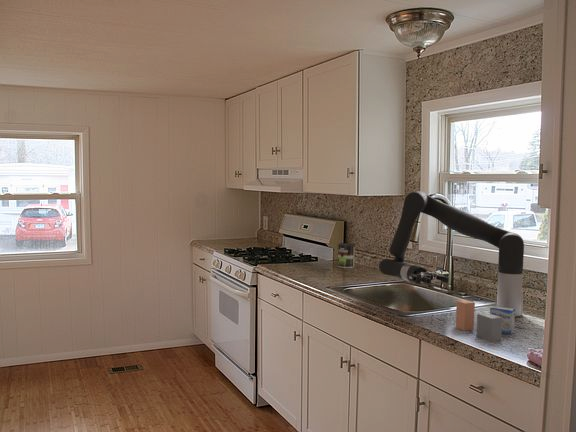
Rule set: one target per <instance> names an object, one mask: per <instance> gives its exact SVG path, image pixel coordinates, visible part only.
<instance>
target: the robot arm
mask: <svg viewBox="0 0 576 432" xmlns="http://www.w3.org/2000/svg"><path fill="white" fill-rule="evenodd" d="M420 213H422V214H426V215H428V216H429V217H432V218H434V219H436V220H437V221H439V222H440V223H442V224H443V225H444V226H445V227H447V228H448V229H451V230H452V231H454V232H457V233H459V234H461V235H464V236H466V237H469V238H472V239H477V240H479V241H483V242H486V243H488V244H489V245H492V246H494V247H495V248H498V263H497V264H498V270H497V271H498V273H497V292H496V293H497V294H496V297H497V298H496V306H498V307H505V308H512V309H515V317H520V316H522V315H523V311H524V310H523V309H524V291H523V275H524V274H523V272H524V256H525V255H524V253H525V243H524V242H525V241H524V239H523V238H522V236H521V235H519V234H518V233H515V232H512V231H509V230H507V229H506V230H505V229H502V228H500V227H498V226H494V225H493V224H491V223H489V222H487V221H486V220H484V219H482V218H480V217H478V216H476V215H474V214H472V213H469V212H467V211H466V210H463V209H461V208H458V207H456V206H453V205H450V204H447V203H444V202H442V201H439V200H438V199H436V198H433V197H432V196H430V195H429V194H427V193H425V192H423V191H421V190H414V191H411V192H409V193H407V195H405V197H404V200H403V206H402V212H401V215H400V220H399V222H398V225H397V228H396V230H395V233H394V235H393V238H392V241H391V244H390V246H389V249H388V252H389V254H390V255H392V256H394V259H392V258H383V259H382V260H380V262H379V264H378V270H379V271H380V273H381V274H382V275H387V276H390V277H396V278H398V279H401V280H405V281H406V282H409V283H413V284H415V285H422V284H427V285H431V284H432V282H433V283H437V282H442V283H445V284H448V283H449V279H450V278H449V277H447V276H446V274H444V273H440V272H437V271H436V272H435V271H434V272H431V271H427V269H426V268H425V267H424V266H421V265H417V264H414V263H407V262H405V254H406V252H407V249H408V247H409V243H410V241H411V237H412V233H413V229H414V225H415V223H416V221H417V219H418V217H419V215H420Z"/></svg>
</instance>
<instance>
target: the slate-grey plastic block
mask: <svg viewBox="0 0 576 432" xmlns="http://www.w3.org/2000/svg"><path fill="white" fill-rule="evenodd" d="M502 334H503V333H502V317H499V316H496V315H493V314H490V312H483V313H477V314H476V337H478V338H480V339H483V340H485V341H488V342H491V343H492V342H499V341H502V337H503V335H502Z"/></svg>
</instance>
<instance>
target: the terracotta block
mask: <svg viewBox="0 0 576 432" xmlns="http://www.w3.org/2000/svg"><path fill="white" fill-rule="evenodd" d="M475 303H476V302H475V301H471V300H469V299H462V300H457V301H456V307H455V308H456V310H455V311H456V312H455V328H456V329H458V330H462V331H471V330H475V308H476V304H475Z"/></svg>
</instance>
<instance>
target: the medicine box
mask: <svg viewBox="0 0 576 432" xmlns="http://www.w3.org/2000/svg"><path fill="white" fill-rule="evenodd" d="M489 314H493V315H496V316H499V317H502V334H507V335H512V334H514V332H515V322H516V321H515V319H516V318H515V309H512V308H505V307H498V306H497V305H492V306H491V307H489Z"/></svg>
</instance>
